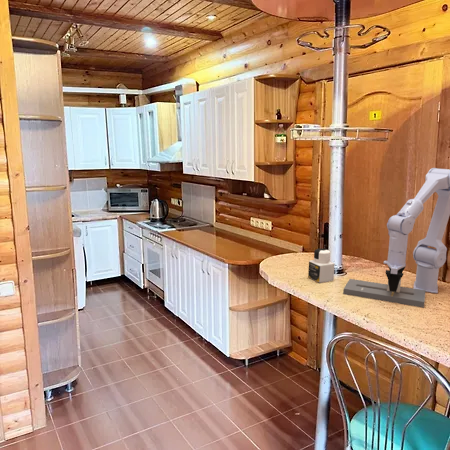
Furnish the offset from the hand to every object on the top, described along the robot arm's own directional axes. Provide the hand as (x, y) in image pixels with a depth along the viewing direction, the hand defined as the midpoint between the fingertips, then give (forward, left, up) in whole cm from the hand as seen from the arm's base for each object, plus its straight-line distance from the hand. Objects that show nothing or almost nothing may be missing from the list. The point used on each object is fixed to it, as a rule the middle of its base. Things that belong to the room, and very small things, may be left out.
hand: (393, 287), depth 144 cm
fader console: (0, -3, -3) cm, 4 cm away
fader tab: (0, 0, -1) cm, 1 cm away
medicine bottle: (-6, -27, -3) cm, 28 cm away
